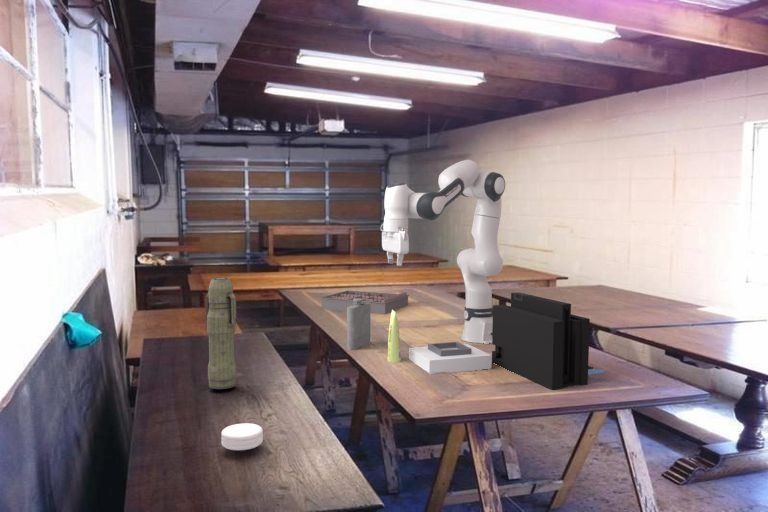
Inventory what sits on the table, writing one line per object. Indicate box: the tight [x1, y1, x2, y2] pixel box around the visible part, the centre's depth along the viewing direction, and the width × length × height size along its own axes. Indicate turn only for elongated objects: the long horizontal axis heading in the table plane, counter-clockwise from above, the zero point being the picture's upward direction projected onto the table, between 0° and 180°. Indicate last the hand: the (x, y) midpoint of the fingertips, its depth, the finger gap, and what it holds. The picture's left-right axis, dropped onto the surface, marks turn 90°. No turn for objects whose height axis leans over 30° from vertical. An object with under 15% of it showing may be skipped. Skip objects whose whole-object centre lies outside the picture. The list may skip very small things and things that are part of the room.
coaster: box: [220, 422, 264, 451], centre depth 156 cm, size 10×10×4 cm
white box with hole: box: [408, 341, 492, 376], centre depth 231 cm, size 24×20×7 cm
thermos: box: [205, 276, 237, 390], centre depth 204 cm, size 9×12×35 cm
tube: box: [387, 310, 402, 364], centre depth 234 cm, size 6×5×20 cm
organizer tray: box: [320, 290, 410, 315], centre depth 349 cm, size 32×40×10 cm
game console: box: [491, 292, 607, 390], centre depth 222 cm, size 35×30×27 cm
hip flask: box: [346, 299, 371, 351], centre depth 259 cm, size 16×4×20 cm, turn 152°
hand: (394, 264), depth 233 cm, fingers open, 8 cm apart
